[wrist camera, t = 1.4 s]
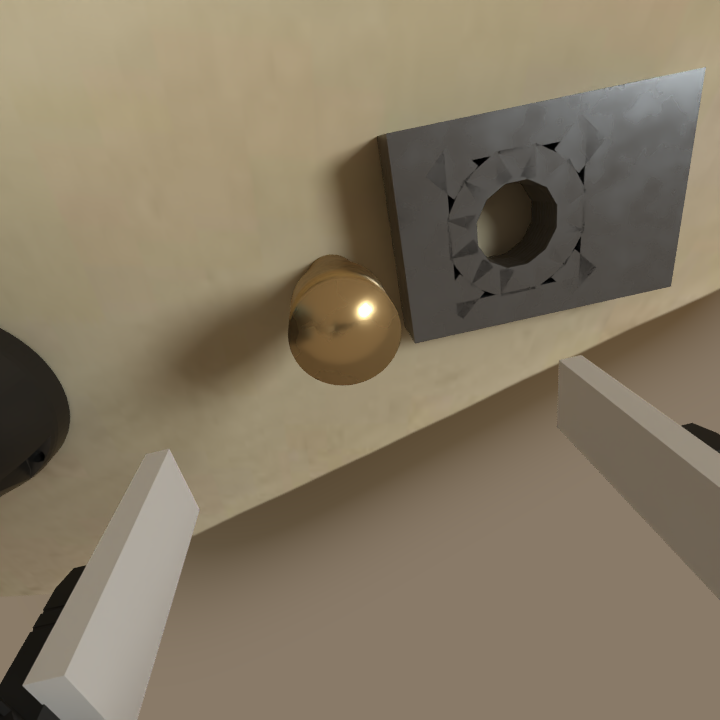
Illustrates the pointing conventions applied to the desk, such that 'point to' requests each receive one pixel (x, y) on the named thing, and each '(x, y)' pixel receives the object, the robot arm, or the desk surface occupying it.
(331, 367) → the knob
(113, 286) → the desk surface
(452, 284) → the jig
